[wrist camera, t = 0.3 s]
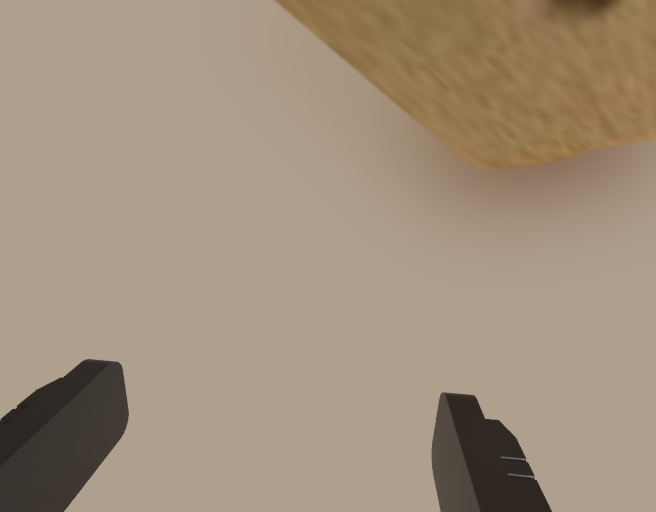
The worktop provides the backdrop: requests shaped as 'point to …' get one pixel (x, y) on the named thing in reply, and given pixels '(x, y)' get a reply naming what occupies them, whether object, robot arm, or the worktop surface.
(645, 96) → the worktop surface
